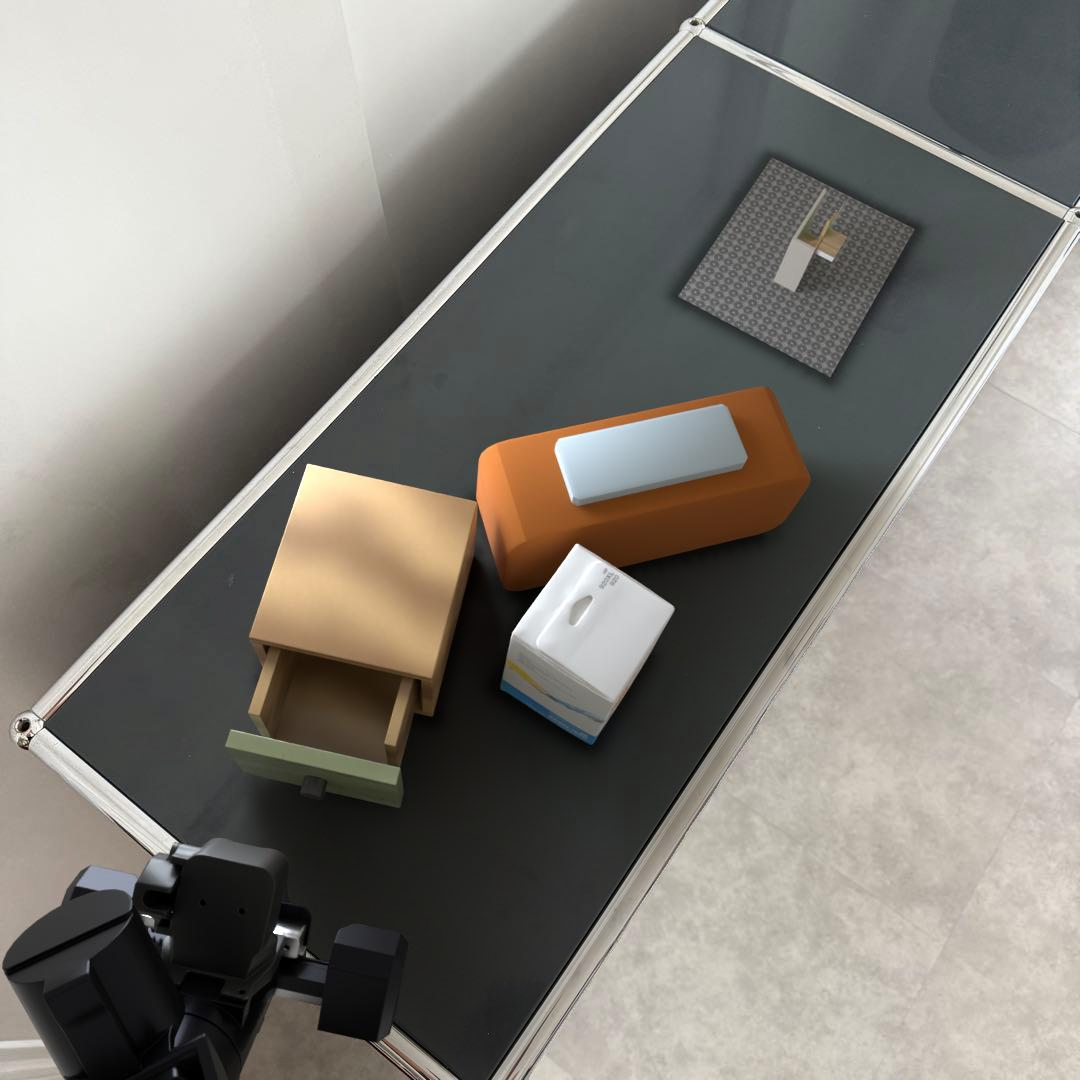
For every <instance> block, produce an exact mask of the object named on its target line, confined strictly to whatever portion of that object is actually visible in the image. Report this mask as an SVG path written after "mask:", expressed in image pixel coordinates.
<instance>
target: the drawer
mask: <svg viewBox="0 0 1080 1080" xmlns="http://www.w3.org/2000/svg"><path fill="white" fill-rule="evenodd" d="M420 689H421V680H420V679H415V678H411V677H407V676H402V675H398V674H393V673H389V672H384V671H380V670H375V669H371V668H367V667H362V666H358V665H353V664H349V663H344V662H340V661H336V660H331V659H327V658H322V657H318V656H313V655H309V654H305V653H300V652H296V651H291V650H287V649H282V648H278V647H274V646H270V648H269V651H268V654H267V657H266V660H265V663H264V666H263V667H262V670H261V672H260V675H259V678H258V681H257V684H256V688H255V691H254V693H253V696H252V699H251V703H250V706H249V708H248V712H247V714H248V716H249V718H250V719H251V721H252V723H253V724H254V726H255V728H256V729H257V731H258V733H259V735H257V734H253V733H248V732H245V731H239V730H234V729H230V730H229V734H228V736H227V740H226V742H225V746H224V747H225V749H226V750H227V752H228V753H229V754H230V755H231V757H232V758H233V759H234V761H235V763H236V764H237V765H238V767H239V768H240V769H241V771H242V772H243V773H244V774H247V775H251V776H257V777H261V778H265V779H269V780H274V781H278V782H283V783H287V784H290V785H291V784H292V785H296V786H300V787H301V788H300V791H299V794H300V795H301V796H303V797H305V798H308V799H313V800H319V801H321V800H323V799H324V797H325V793H332V794H336V795H340V796H345V797H348V798H353V799H358V800H362V801H366V802H371V803H375V804H379V805H383V806H384V805H385V806H389V807H394V808H397V809H400V808H401V805H402V803H403V797H404V793H405V791H404V784H403V777H402V776H403V775H402V770H401V767H402V766H401V765H402V762H403V758H404V755H405V750H406V746H407V742H408V739H409V735H410V731H411V727H412V725H413V720H414V715H415V713H414V712H415V709H416V705H417V701H418V697H419V693H420Z"/></svg>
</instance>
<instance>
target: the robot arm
mask: <svg viewBox="0 0 1080 1080" xmlns="http://www.w3.org/2000/svg"><path fill="white" fill-rule="evenodd" d="M289 874H290V863H289V860H288V858H287V857H286V855H285V853H283V852H282V851H280V850H277V849H274V848H270V847H259V846H255V845H250V844H246V843H242V842H237V841H233V840H232V839H229V838H224V837H214V838H211V839H209V840H207V841H206V842H205V843H204V844H203V845H202V846H201V847H200V846H196V845H192V844H187V843H183V842H182V843H181V842H177V841H174V842H173V843H172V845H171V847H170V850H169V853H165V852H160V851H159V852H157V853H156V854H154V856H152V857H151V858H150V859H149V860H148V861H147V863H146V865H145V867H144V868H143V870H142V871H141V873H140V875H139V876H138V875H137V874H135V873H130V872H126V871H122V870H116V869H113V868H108V867H103V866H99V865H94V864H90V865H88V866H86V867H84V868H83V869H80V871H79V872H78V874H77V875H76V876H75V877H74V879H73V880H72V881H71V883H70V884H69V885H68V887H67V888H66V889H65V893H64V895H63V897H62V901H61V904H60V905H59V906H57V907H55V908H53V909H52V910H49V912H47V913H46V914H44V915H43V916H42V917H40V918H39V919H37V920H35V922H33V923H32V924H31V925H29V926H28V927H27V928H26V929H25V930H24V931H23V932H22V933H21V934H20V935H19V936H18V937H17V938H16V939H15V940H13V942H12V944H11V945H10V946H9V948H8V949H7V950H6V952H5V954H4V957H3V959H2V965H1V969H2V971H3V973H4V976H5V977H6V979H7V981H8V982H9V984H10V986H11V988H12V990H13V991H14V993H15V995H16V997H17V998H18V1001H19V1002H20V1004H21V1005H22V1007H23V1009H24V1011H25V1013H26V1014H27V1016H28V1018H29V1020H30V1022H31V1023H32V1025H33V1027H34V1029H35V1031H36V1033H37V1035H38V1036H39V1038H40V1039H41V1041H42V1044H43V1045H44V1047H45V1049H46V1050H47V1052H48V1054H49V1055H50V1057H51V1059H52V1061H53V1063H54V1065H55V1066H56V1068H57V1070H58V1071H59V1074H60V1075H61V1077H62V1079H63V1080H240V1077H241V1073H242V1071H243V1069H244V1066H245V1064H246V1061H247V1059H248V1058H249V1055H250V1052H251V1050H252V1048H253V1045H254V1043H255V1041H256V1038H257V1036H258V1034H259V1033H260V1031H261V1028H262V1026H263V1024H264V1022H265V1018H266V1015H267V1011H268V1009H269V1007H270V1006H271V1005H270V1004H271V1002H272V999H273V997H278V998H282V999H288V1000H292V1001H296V1002H299V1003H300V1002H302V1003H306V1004H310V1005H314V1006H320V1010H319V1017H318V1023H317V1028H316V1030H317V1031H320V1032H324V1033H327V1034H328V1033H329V1034H333V1035H338V1036H342V1037H347V1038H352V1039H356V1040H360V1041H366V1042H369V1043H374V1044H379V1043H380V1042H381V1041H383V1040H384V1039H386V1038H387V1037H389V1036H390V1035H391V1031H392V1029H393V1025H394V1021H395V1017H396V1013H397V1008H398V1004H399V1000H400V999H399V998H400V993H401V988H402V983H403V978H404V975H405V967H406V964H407V959H408V952H409V948H410V942H409V940H408V939H407V938H406V937H405V936H404V934H403V933H402V932H399V931H394V930H391V929H384V928H381V927H376V926H371V925H366V924H364V923H363V924H362V923H359V922H358V923H357V922H355V923H352V924H350V925H347V926H345V927H344V926H343V927H342V928H339V929H338V931H337V934H336V937H335V939H334V942H333V944H332V949H331V953H330V957H329V961H328V960H327V961H326V960H322V959H319V958H318V959H317V958H313V957H308V956H307V953H308V946H309V940H310V934H311V928H312V921H313V915H312V912H311V911H310V909H309V908H308V907H307V906H304V905H301V904H297V903H292V902H291V900H290V897H289V893H288V878H289Z"/></svg>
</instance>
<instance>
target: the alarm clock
mask: <svg viewBox="0 0 1080 1080" xmlns="http://www.w3.org/2000/svg"><path fill="white" fill-rule="evenodd" d="M477 467H478V468H477V477H476V478H477V479H476V492H475V494H476V495H475V499H476V502H478V509H479V513H480V516H481V519H482V524H483V526H484V529H485V533H486V536H487V540H488V543H489V547H490V551H491V553H492V556H493V560H494V563H495V567H496V570H497V574H498V578H499V581H500V584H501V587H502V588H503V589H504V590H506V591H509V592H521V591H526V590H532V589H536V588H540V587H544V586H546V585H547V584H548V582H549V581H550V580H551V578H552V577H553V576H554V574H555V573H556V572H557V570H558V569H559V567H560V566H561V565H562V563H563V562H564V560H565V559H566V558H567V556H568V555H569V553H570V552H571V550H572V549H573V548H574V546H575V545H576V544H579V545H580V546H582V547H584V548H585V549H587V550H589V551H590V552H592V553H594V554H595V555H597V556H598V557H600V558H601V559H603V560H604V561H606V562H608V563H609V564H611V565H612V566H614V567H616V568H617V569H620V568H622V567H623V568H624V567H628V566H632V565H636V564H640V563H644V562H648V561H652V560H656V559H661V558H666V557H670V556H675V555H678V554H681V553H686V552H690V551H694V550H698V549H703V548H706V547H711V546H716V545H719V544H724V543H727V542H732V541H735V540H740V539H744V538H749V537H753V536H758V535H760V534H764V533H766V532H769V531H771V530H774V529H775V528H777V527H779V526H780V525H781V524H783V523H784V522H785V521H786V520H787V519H788V517H789V515H790V514H791V513H792V511H793V510H794V509H795V507H796V505H797V504H798V502H799V501H800V500H801V498H802V496H803V495H804V493H806V491H807V490H808V488H809V486H810V483H811V476H810V473H809V471H808V469H807V466H806V463H805V462H804V460H803V457H802V453H801V452H800V450H799V448H798V445H797V443H796V441H795V437H794V436H793V433H792V431H791V429H790V426H789V424H788V422H787V419H786V417H785V415H784V412H783V410H782V408H781V405H780V403H779V400H778V398H777V396H776V394H775V392H774V390H772V389H771V388H770V387H766V386H757V387H755V386H754V387H750V388H746V389H741V390H736V391H731V392H725V393H721V394H717V395H712V396H708V397H703V398H699V399H694V400H689V401H685V402H680V403H679V402H678V403H675V404H670V405H666V406H661V407H656V408H652V409H647V410H642V411H638V412H637V411H636V412H633V413H628V414H623V415H618V416H613V417H609V418H604V419H599V420H594V421H590V422H585V423H582V424H576V425H571V426H566V427H561V428H557V429H553V430H547V431H543V432H539V433H533V434H529V435H525V436H520V437H515V438H510V439H506V440H502V441H500V442H496V443H494V444H492V445H490V446H488V447H487V448H486V449H484V450H483V451H482V452H481V453H480V456H479V459H478V466H477Z"/></svg>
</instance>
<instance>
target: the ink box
mask: <svg viewBox="0 0 1080 1080" xmlns="http://www.w3.org/2000/svg"><path fill="white" fill-rule="evenodd" d="M544 586H545V587H544V588H543V589H542V590H541V592H540V593H539V594H538V596H537V597H536V598H535V600H534V602H532V604H531V605H530V607H529V608H528V609H527V611H526V612H525V614H523V616H522V617H521V619H520V621H519V622H518V624H517V625H516V627H515V628H514V630H513V631H512V632H511V636H510V640H509V646H508V649H507V653H506V659H505V664H504V668H503V671H502V677H501V681H500V690H501V691H503V692H506V693H507V694H509V695H510V696H512V697H513V698H514V699H516V700H517V701H520V702H521V703H522V704H524V705H526V707H528V708H530V709H531V710H533V711H534V712H536V713H538V714H539V715H540V716H542V717H543V718H545V719H547V720H548V721H550V722H551V723H553V724H554V725H556V726H558V727H560V728H561V729H562V730H564V731H565V732H568V733H569V734H571V735H572V736H574V737H576V738H578V739H579V740H582V741H583V742H584V743H586V744H588V745H590V746H591V745H593V744H594V743H595V742H596V740H597V739H598V737H599V735H600V734H601V732H602V731H603V729H604V728H605V726H606V725H607V723H608V721H609V720H610V718H611V717H612V716H613V714H614V712H615V711H616V710H617V708H618V706H619V705H620V703H621V702H622V700H623V698H624V697H625V695H626V693H627V692H628V691H629V689H630V688H631V686H632V684H633V683H634V681H635V679H636V678H637V676H638V675H639V673H640V671H641V670H642V668H643V666H644V665H645V663H646V662H647V660H648V658H649V656H650V655H651V653H652V652H653V649H654V647H655V645H656V644H657V642H658V640H659V638H660V637H661V635H662V634H663V632H664V629H665V628H666V626H667V624H668V622H669V621H670V619H671V617H672V616H673V614H674V613H675V606H674V605H672V604H671V603H670V602H668V601H667V600H665V599H664V598H662V597H661V596H659V595H658V594H657V593H655V592H654V591H652V590H651V589H650V588H648V587H646V586H645V585H643V584H642V583H640V582H639V581H638V580H636V579H634V578H633V577H631V576H630V575H628V574H627V573H625V572H624V571H622V570H620V568H616V567H614V566H612V565H611V564H609V563H608V562H606V561H604V560H603V559H601V558H600V557H598V556H597V555H595V554H594V553H592V552H590V551H589V550H587V549H585V548H584V547H582V546H580V545H579V544H576V545H575V546H574V548H573V549H572V550H571V552H570V553H569V555H568V556H567V558H566V559H565V560H564V562H563V563H562V565H561V566H560V567H559V569H558V570H557V572H556V573H555V574H554V576H553V577H552V578H551V580H550V581H549V582H548V584H547V585H544Z"/></svg>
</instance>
